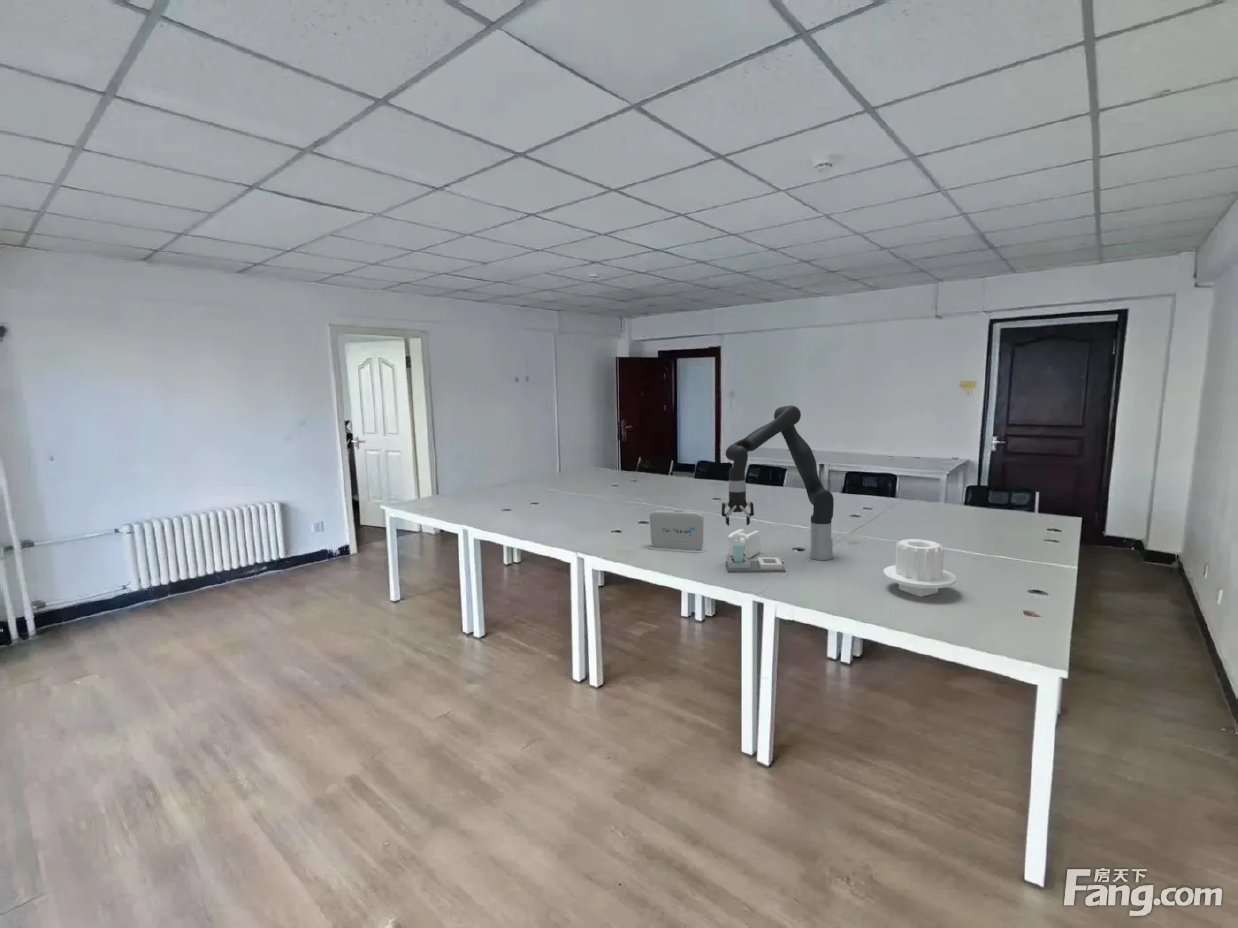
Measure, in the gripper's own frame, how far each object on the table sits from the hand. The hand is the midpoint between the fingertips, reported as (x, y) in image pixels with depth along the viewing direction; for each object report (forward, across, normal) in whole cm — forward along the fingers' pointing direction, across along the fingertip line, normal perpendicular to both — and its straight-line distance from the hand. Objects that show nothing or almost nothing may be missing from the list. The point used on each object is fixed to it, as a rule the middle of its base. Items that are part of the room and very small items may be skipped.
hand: (737, 525), depth 257 cm
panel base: (+20, -7, 0) cm, 21 cm away
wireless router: (+20, +28, -32) cm, 47 cm away
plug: (+19, 0, 0) cm, 19 cm away
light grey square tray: (+20, -14, 0) cm, 24 cm away
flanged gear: (+20, -66, +31) cm, 76 cm away
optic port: (+20, 0, 0) cm, 20 cm away
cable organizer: (+20, -5, -20) cm, 29 cm away
